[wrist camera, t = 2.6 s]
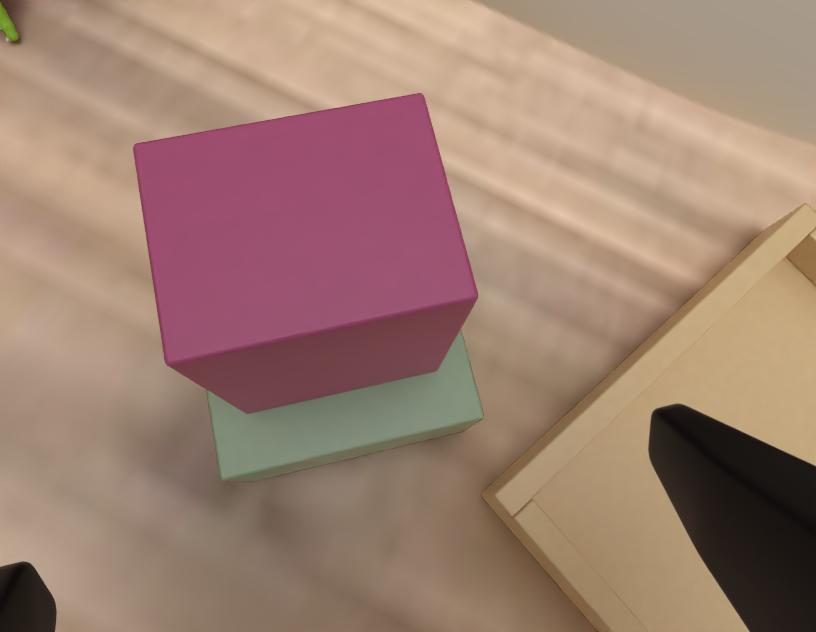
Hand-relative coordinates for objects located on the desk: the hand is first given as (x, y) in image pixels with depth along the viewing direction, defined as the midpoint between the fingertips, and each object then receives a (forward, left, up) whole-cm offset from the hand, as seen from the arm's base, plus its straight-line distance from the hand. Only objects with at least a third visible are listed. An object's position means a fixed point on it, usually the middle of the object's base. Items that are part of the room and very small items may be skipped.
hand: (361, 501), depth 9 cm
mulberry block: (+4, -2, -8) cm, 9 cm away
